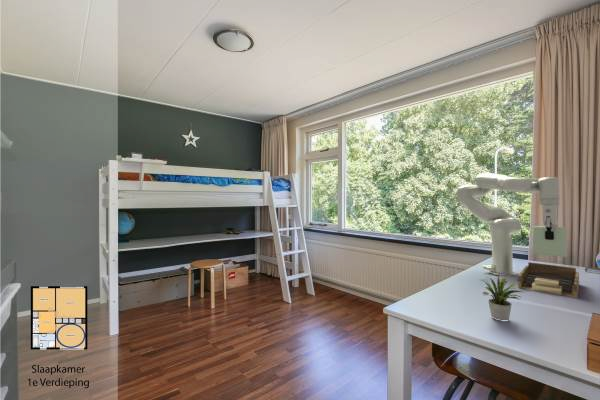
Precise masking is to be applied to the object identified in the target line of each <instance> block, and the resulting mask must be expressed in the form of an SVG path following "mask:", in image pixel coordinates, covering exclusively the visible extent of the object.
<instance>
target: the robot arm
mask: <svg viewBox="0 0 600 400" xmlns="http://www.w3.org/2000/svg"><path fill="white" fill-rule="evenodd" d="M492 190H500V191H504V192H505V191H506V192H512V193H513V192H514V193H523V194H526V193H527V194H528V193H531V194H532V193H538V204H539V205H538V206H542V207H541V212H542V213H541V216H542V224H543V225H544V227H545V239H547V240H554V232H553V227H557V225H558V224H559V223H558V206H560V180H559V178H558V177H554V176H553V177H550V176H549V177H541V178H538V177H535V178H534V177H531V178H529V177H524V178H523V177H511V176H507V175H504V174H496V173H495V174H494V173H480V174H478V175H476V177H475V178H474V184H465V185H464V184H463V185H462V186H459V187H458V188H457V190H456V198H457V199H456V200H457V201H458V202H459V204H460V205H461V206H462V207H464V208H465V209H466V210H468V211H469V212H470V213H471V214H472V215H473V216H475V217H476V218H477V219H479V220H480V222H482V223H485V224H489V231H490V232H489V233H490V238H491V262H492V263H490V265H482V269H483V270H487V271H489V273H490V274H491V275H495V276H498V275H499V276H516V275H517V272H515V271H514V270H513V269H514V267H513V266H514V265H513V264H514V263H513V261H514V260H513V240H512V238H511V235H516V234H519V233H520V232H521V230H522V224H521V222H520V221H519V220H518V219H517V218H516V217H514V216H513V215H512V214H510V213H509V212H508V211H506V210H505V209H502V207H498V206H487V205H486V204H484V203H483V202H482V201H480V200H478V198H482V197H483V196H485V195H486V194H487V193H489V192H491V191H492Z"/></svg>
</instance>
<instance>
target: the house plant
mask: <svg viewBox="0 0 600 400" xmlns="http://www.w3.org/2000/svg"><path fill="white" fill-rule="evenodd" d="M487 279H489V280H490V282H491V283H492V285H491V284H490V283H489V282H488V280H487ZM487 279H480V281H482V282H484V283H485V284H486V285H487V286H485V287H484V288H485V289H486V290H488V291H489V292H490V293H489V292H487V291H483V292H482V293H481V294H482V295H483V296H489V297H491V298H490V299H488V306H489V310H490V311H489V312H490V316H491V318H492V317H494V318H496V319H500V320H509V321H510V317H511V315H510V314H511V310H512V302H510V301H508V300H510V299H515V300H516V299H517V300H519V301H521V300H520V299H522V296H520V295H518V294H513V293H523V291H522V290H512V288H514V289H517V288H518V287H519V286H518V283H520V282H518V281H517V282H514V283H512V284H510V285H509V286H508V287H506V288H505V285H506V284H507V283H508V282H509V281H510V280H511V279H512V277H510V278H508V279H507V280H506V277H505V276H504V277H502V279H501V280H500V275H497V281H496V282H495V281H494V279H493V278H491V277H487ZM496 283H497V284H496ZM492 286H493V287H492ZM516 287H517V288H516ZM504 288H505V289H504Z"/></svg>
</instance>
